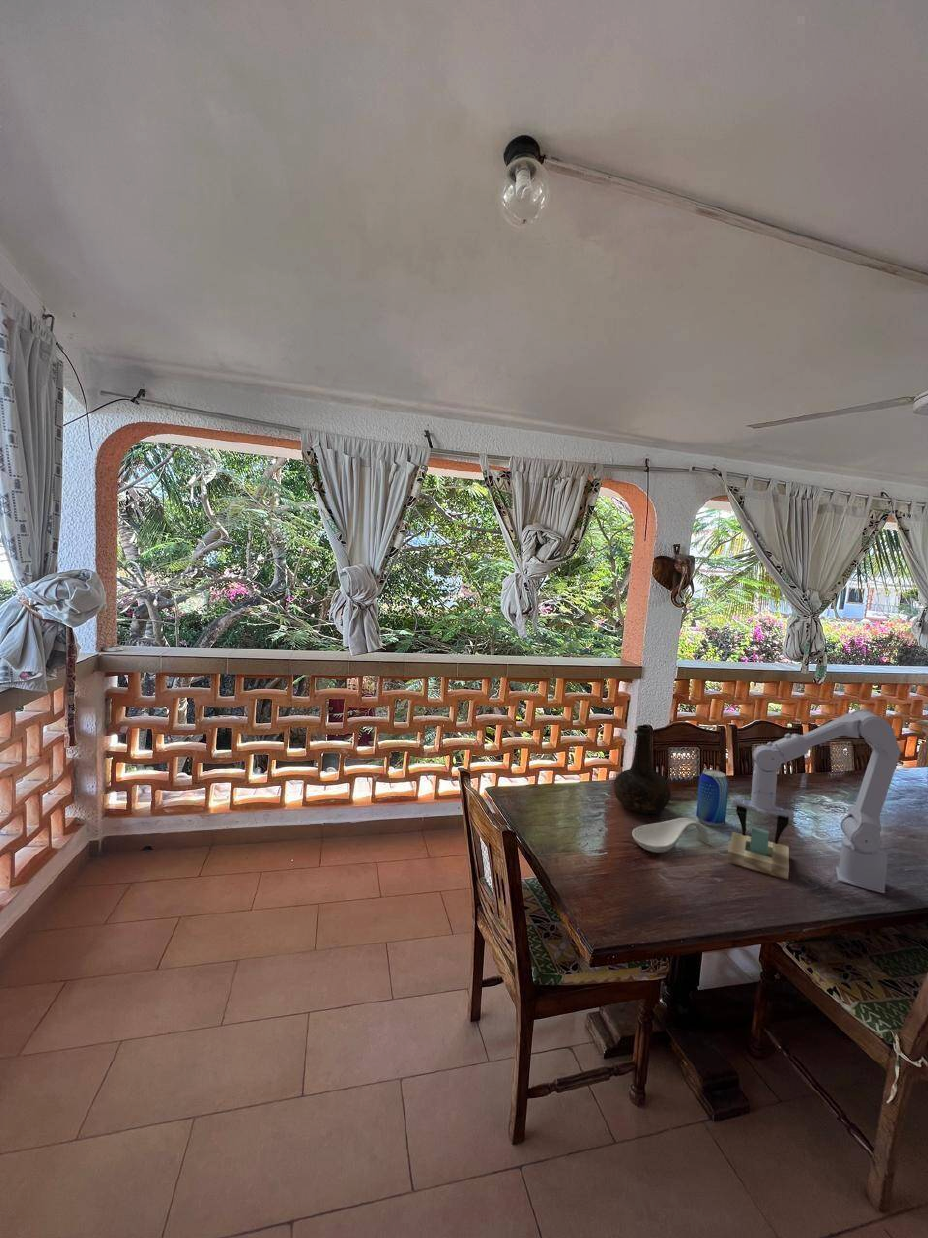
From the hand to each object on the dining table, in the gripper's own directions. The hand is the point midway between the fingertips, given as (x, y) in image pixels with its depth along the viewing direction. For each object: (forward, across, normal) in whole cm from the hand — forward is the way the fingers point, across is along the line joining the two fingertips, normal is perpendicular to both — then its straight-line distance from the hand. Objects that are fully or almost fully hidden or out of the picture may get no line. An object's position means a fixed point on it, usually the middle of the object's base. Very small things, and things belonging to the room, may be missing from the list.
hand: (759, 838), depth 141 cm
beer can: (+6, -14, +18) cm, 24 cm away
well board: (+6, 0, 0) cm, 6 cm away
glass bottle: (+6, -35, +14) cm, 38 cm away
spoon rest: (+6, -22, -6) cm, 24 cm away
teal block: (+6, 0, 0) cm, 6 cm away
